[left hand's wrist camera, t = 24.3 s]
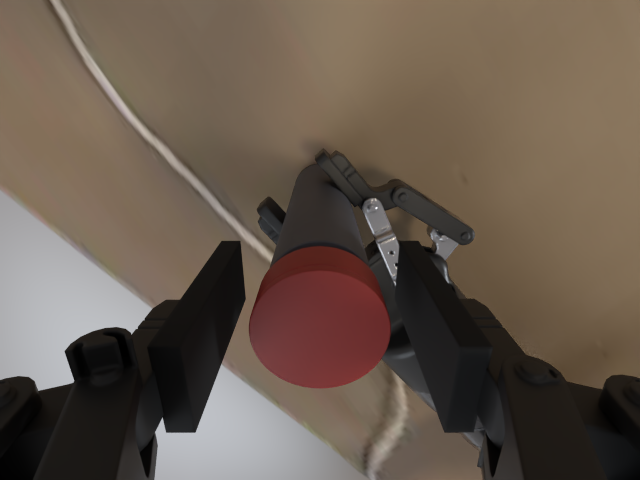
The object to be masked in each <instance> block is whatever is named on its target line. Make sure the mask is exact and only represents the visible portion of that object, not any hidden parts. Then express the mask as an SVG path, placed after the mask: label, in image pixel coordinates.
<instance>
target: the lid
mask: <svg viewBox="0 0 640 480" xmlns="http://www.w3.org/2000/svg"><path fill="white" fill-rule="evenodd" d="M390 335H391V323H390V317H389V314H388V310H387V307H386V304H385V301H384V298H383V295H382V292H381V289H380V286H379V283H378V280H377V278H376V276H375V275H374V273H373V272H372V270H371V269H370V268H369V267H368V266H367V265H366V264H365V263H364V262H363V261H362V260H361V259H359V258H358V257H356V256H355V255H353V254H351V253H349V252H347V251H344V250H341V249H338V248H333V247H325V246H315V247H307V248H302V249H299V250H296V251H293V252H291V253H289V254H287V255H285V256H284V257H282V258H281V259H279V260H278V261H277V262H276V263H275V264H273V266H272V267H271V268H270V269H269V270H268V272H267V273H266V275H265V276H264V278H263V280H262V282H261V285H260V288H259V292H258V295H257V298H256V301H255V304H254V307H253V310H252V313H251V317H250V322H249V336H250V341H251V344H252V347H253V350H254V352H255V354H256V356H257V357H258V358H259V360H260V361H261V363H262V364H263V365H264V366H265V367H266V368H267V369H268V370H269V371H271V372H272V373H273V374H275V375H276V376H278V377H279V378H281V379H283V380H285V381H287V382H290V383H292V384H295V385H299V386H303V387H309V388H331V387H337V386H341V385H345V384H348V383H350V382H353V381H355V380H357V379H359V378H361V377H362V376H364V375H365V374H367V373H368V372H369V371H371V370H372V369H373V368H374V367H375V366H376V365H377V364H378V363H379V361H380V360H381V358H382V357H383V355H384V353H385V351H386V349H387V347H388V344H389V341H390Z"/></svg>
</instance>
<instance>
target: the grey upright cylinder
mask: <svg viewBox="0 0 640 480" xmlns="http://www.w3.org/2000/svg"><path fill="white" fill-rule="evenodd" d="M315 246H325V247H333V248H338V249H341V250H344V251H347V252H349V253H351V254H353V255H355V256H356V257H358V258H359V259H361V260H362V261H363V262H364V263H365V264H366V265H367V266H368V267H369V268H370V266H369V262H368V259H367V256H366V252H365V249H364V246H363V242H362V239H361V236H360V232H359V229H358V226H357V222H356V219H355V216H354V213H353V209H352V206H351V203H350V201H349V200H348V199H347V197H346V196H345V195H344V194H343V193H342V192H341V190H340V189H339V188H338V187H337V186H336V185H335V183H334V182H333V181H332V180H331V179H330V178H329V176H328V175H327V174H326V173H325V172H324V170H323V169H322V168H321V167H320V166H319V165H318V164H314V165H311V166H309V167H307V168H305V169H304V170H303V171H302V172H301V173H300V174H299V176H298V178H297V180H296V183H295V186H294V190H293V193H292V196H291V200H290V203H289V206H288V209H287V213H286V216H285V219H284V223H283V226H282V229H281V233H280V236H279V239H278V242H277V246H276V249H275V252H274V256H273V259H272V262H271V266H270V268H271V267H272V266H273V264H275V263H276V262H277V261H278V260H279V259H281V258H282V257H284V256H285V255H287V254H289V253H291V252H293V251H296V250H299V249H302V248H307V247H315Z"/></svg>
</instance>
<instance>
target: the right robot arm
mask: <svg viewBox="0 0 640 480" xmlns="http://www.w3.org/2000/svg"><path fill="white" fill-rule="evenodd" d="M315 160H316V162H317V163H318V165H319V166H320V167H321V168H322V169H323V170H324V172H325V173H326V174H327V175H328V176H329V178H330V179H331V180H332V181H333V182H334V183H335V185H336V186H337V187H338V188H339V189H340V190H341V192H342V193H343V194H344V195H345V196H346V197H347V199H348V200H349V201H350V202H351V203H352V205H353V206H354V207H356V206H357V205H358V206H359V207H360V208H361V210H362V211H363V213H364V215H365V218H366V220H367V222H368V224H369V227H370V229H371V231H372V234H373V236H374V238H375V240H374V241H373V242H371V243H370V244H369V245H368V246H367V247H366V248H365V252H366V256H367V259H368V262H369V266H370V269H371V270H372V272H373V273H374V275H375V276H376V278H377V280H378V283H379V286H380V289H381V292H382V295H383V298H384V301H385V304H386V307H387V310H388V314H389V317H390V323H391V335H390V341H389V344H388V347H387V349H386V351H385V353H384V355H383V357H382V358H381V359H382V360H383V361H384V362H385V363H386V364H387V365H388V366H389V367H390V368H391V369H392V370H393V371H394V372H395V373H396V374H397V375H398V376H399V377H400V378H401V379H402V380H403V381H404V382H405V383H406V384H407V385H408V386H409V387H410V388H411V389H412V390H413V391H414V392H415V393H416V394H417V395H418V396H419V397H420V398H421V399H422V400H423V401H424V402H425V403H426V404H427V405H428V406H429V407H430V408H432V409H433V410H434V411H436V408H435V406H434V403H433V400H432V398H431V395H430V392H429V390H428V387H427V384H426V382H425V379H424V376H423V374H422V371H421V368H420V366H419V363H418V361H417V358H416V355H415V353H414V350H413V347H412V345H411V342H410V339H409V337H408V334H407V331H406V329H405V326H404V323H403V321H402V318H401V315H400V313H399V310H398V307H397V305H396V302H395V299H394V298H395V287H396V276H397V265H398V254H399V243H400V241H399V240H397V239H396V237H395V234H394V232H393V230H392V228H391V225H390V223H389V221H388V218H387V216H386V213H385V211H386V210H389V209H391V208H394V207H397V206H398V207H400V208H402V209H403V210H405V211H407V212H408V213H410V214H411V215H413V216H415V217H416V218H418V219H419V220H421V221H423V222H424V223H426V224H428V227H427V234H428V235H429V236H430V238H431V239H432V240H433V245H432V247H431V248H430V247H425V246H422V247H423V248H424V250H425V251H426V253H427V254H428V255H429V257H430V258H431V260H432V261H433V263H434V264H435V265H436V267H437V268H438V270H439V271H440V272H441V274H442V275H443V277H444V278H445V280H446V281H447V282H448V284H449V285H450V287H451V288H452V289H453V291H454V292H455V294H456V295H457V297H458V298H459V299H467V298H466V297H465V296H464V295H463V293H462V292H461V291H460V290H459V288H458V287H457V286H456V285H455V284H454V282H453V281H452V280H451V279H450V277H449V274H448V266H447V263H446V261H445V260H446V259H447V258H448V256H449V255H450V254H451V253H452V252H453V250H454V249H455V248H456V247H457V245H458V244H460V245H467V244H469V243H471V242H472V241H473V239H474V236H475V233H474V231H473V229H472V228H470V227H469V226H468V225H467V224H466V223H464V222H463V221H462V220H461V219H460V218H458V217H457V216H456V215H454V214H452V213H451V212H449V211H448V210H446V209H445V208H443V207H442V206H440V205H438V204H437V203H435V202H434V201H432V200H431V199H429V198H427V197H426V196H424V195H423V194H421V193H420V192H418V191H416V190H415V189H413V188H412V187H410V186H409V185H407V184H405V183H404V182H402V181H401V180H399V179H392V180H390V181H389V182H388V183H387V184H385V185H382V186H379V187H372V186H370V185H368V184H367V183H366V182H365V180H364V179H363V178H362V177H361V175H360V174H359V173H358V172H357V171H356V169H355V168H354V167H353V166H352V164H351V163H350V162H349V161H348V159H347V158H346V157H345V156H344V155H343V154H342V153H340V152H338V151H335V152H333V153H332V154H331V155H329V154H328V152H327V151H326V150H325V149H324V148H323V149H322V150H321V151H320V152H319V153H318V154H316V155H315ZM257 212H258V213H259V215H260V218H259V220H258V223H259V225H260V227H261V229H262V230H263V231H264V232H265V233H266V234H267V235H268V237H269V238H270V239H271V240H273V242H274V243H275V244H276V245H277V242H278V239H279V236H280V233H281V229H282V226H283V223H284V219H285V216H286V213H285V212H284V211H283V210H282V209H281V208H280V206H279V205H278V204H277V203H276V202H275V201H274V200H273V199H272V198H270V197H267V198H266V199H265V200H264V201H263V202H261V203H260V205H259V207H258V208H257ZM436 412H437V411H436ZM460 434H461V435H462V436H463V437H464V438H465V439H466V440H467V441H468V442H469V443H470V444H471V445H472V446H473V447H474V448H476V449H477V450H479V455H480V451H481V447H482V443H483V439H484V434H485V429H484V427H483V425H482V423H481V421H480V419H479V417H478V416H477V420H476V425H475V429H474V433H460ZM481 472H482V478H483V480H486V476H485V466H484V462H483V466H482V468H481Z"/></svg>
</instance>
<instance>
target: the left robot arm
mask: <svg viewBox="0 0 640 480" xmlns="http://www.w3.org/2000/svg"><path fill="white" fill-rule="evenodd" d="M245 299H246V297H245V287H244V276H243V265H242V254H241V243H240V241H221V243H220V244H219V246H218V247H217V248H216V250H215V251H214V253H213V254H212V255H211V257H210V258H209V260H208V261H207V263H206V264H205V265H204V267H203V268H202V270H201V271H200V272H199V274H198V275H197V277H196V278H195V280H194V281H193V282H192V284H191V285H190V287H189V288H188V289H187V291H186V292H185V294H184V295H183V297H182V298H181V299H180V300H165V301H164V302H162V303H161V304H159V305H157V306H156V307H154V308H153V309H152V310H151V311H150V313H149V314H148V315H147V316H146V318H145V321H142V323H141V324H140V325H139V326H138V329H136V330H135V331H134V332H133V334H132V335H131V333H130V332H129V331H128V330H126V329H123V328H118V327H114V328H104V329H100V330H96V331H93V332H91V333H88V334H86V335H84V336H82V337H80V338H78V339H77V340H76V341H74V342H73V343H71V344H70V345H69V347H68V348H67V349H66V350H65V354H66V357H67V360H68V363H69V366H70V369H71V372H72V375H73V378H74V383H72V384H68V385H63V386H59V387H55V388H50V389H45V390H41V391H38V389H37V387H36V384H35V381H33V380H32V379H31V378H29V377H21V376H17V377H11V378H6V379H3V380H0V480H154V477H155V466H156V456H157V447H158V445H157V439H156V434H155V431H156V429H157V427H158V425H159V423H160V421H161V419H162V417H163V420H164V425H165V429H166V432H168V433H169V432H171V433H174V432H175V433H177V432H178V433H179V432H181V433H184V432H185V433H187V432H189V433H191V432H194V433H195V432H196V430H197V427H198V424H199V421H200V419H201V416H202V414H203V411H204V408H205V406H206V403H207V400H208V398H209V395H210V392H211V390H212V387H213V384H214V382H215V379H216V376H217V374H218V371H219V368H220V366H221V363H222V361H223V358H224V355H225V353H226V350H227V347H228V345H229V342H230V339H231V337H232V334H233V331H234V329H235V326H236V323H237V321H238V318H239V315H240V313H241V310H242V307H243V305H244V302H245ZM394 299H395V302H396V305H397V307H398V310H399V313H400V315H401V318H402V321H403V323H404V326H405V329H406V331H407V334H408V337H409V339H410V342H411V345H412V347H413V350H414V353H415V355H416V358H417V361H418V363H419V366H420V368H421V371H422V374H423V376H424V379H425V382H426V384H427V387H428V390H429V392H430V395H431V398H432V400H433V403H434V406H435V408H436V411H437V414H438V416H439V419H440V422H441V424H442V427H443V430H444V432H445V433H474V429H475V425H476V420H477V416H478V417H479V419H480V421H481V423H482V425H483V427H484V429H485V434H484V439H483V443H482V447H481V451H480V455H479V459H478V465H477V467H480V468H482V466H483V462H484V466H485V476H486V480H640V378H637V377H632V376H626V375H613V376H611V377H609V378H608V379H606V381H605V384H604V387H603V389H597V388H593V387H588V386H583V385H579V384H574V383H570V382H567V381H566V380H565V379H564V377H563V376H562V374H561V373H560V372H559V371H558V370H557V369H555V368H554V367H553V366H552V365H550V364H548V363H546V362H544V361H542V360H540V359H538V358H535V357H531V356H528V355H526V354H525V353H524V352H523V351H522V349H521V348H520V347H519V346H518V344H517V343H516V342H515V341H514V340H513V338H512V337H511V336H510V335H509V333H508V332H507V331H506V330H505V328H502V325H501V324H500V322H499V321H498V320H497V319H496V317H495V316H494V315H493V314H492V312H491V311H490V310H489V309H488V308H487V307H486V306H484V305H483V304H481V303H480V302H478V301H477V300H475V299H459V298H458V297H457V295H456V294H455V292H454V291H453V289H452V288H451V287H450V285H449V284H448V282H447V281H446V280H445V278H444V277H443V275H442V274H441V272H440V271H439V270H438V268H437V267H436V265H435V264H434V263H433V261H432V260H431V258H430V257H429V255H428V254H427V253H426V251H425V250H424V248H423V247H422V246H421V244H420V243H419V241H400V243H399V254H398V265H397V276H396V287H395V298H394Z"/></svg>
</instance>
